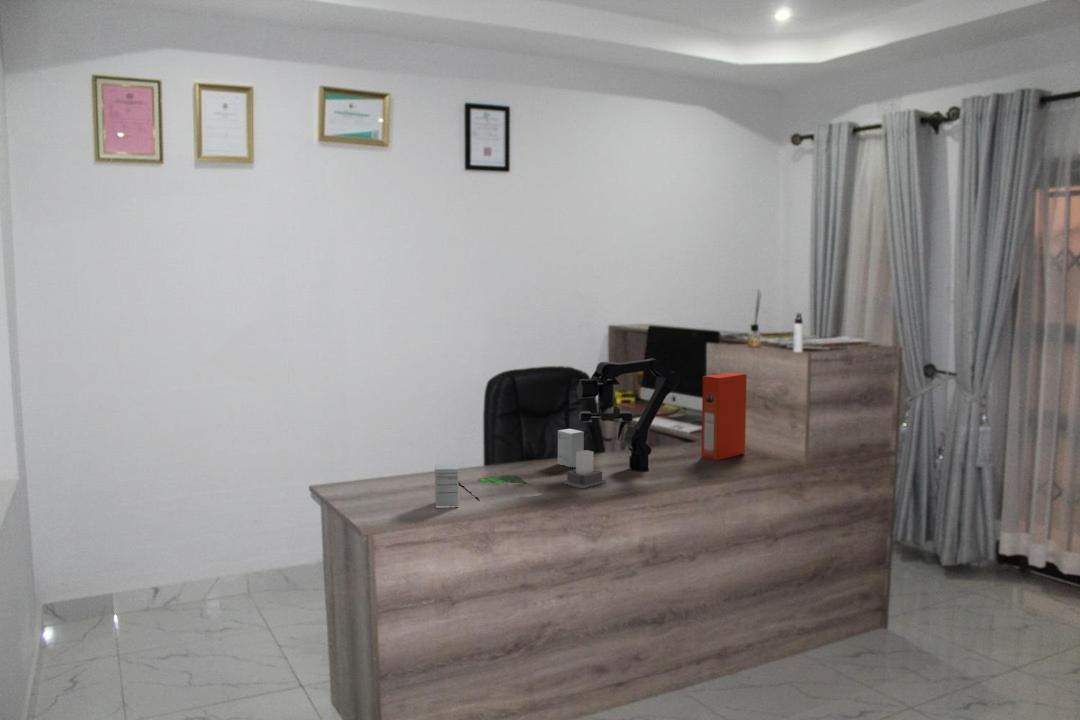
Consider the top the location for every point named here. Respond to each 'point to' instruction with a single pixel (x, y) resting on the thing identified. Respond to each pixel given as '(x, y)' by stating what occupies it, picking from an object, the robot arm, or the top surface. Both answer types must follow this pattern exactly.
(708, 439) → the file binder
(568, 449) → the small box
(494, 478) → the mouse mat
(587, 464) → the plain light grey box
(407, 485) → the top surface
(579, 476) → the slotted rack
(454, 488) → the grey drawer cabinet
